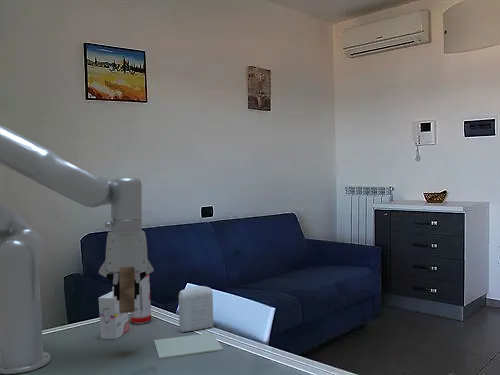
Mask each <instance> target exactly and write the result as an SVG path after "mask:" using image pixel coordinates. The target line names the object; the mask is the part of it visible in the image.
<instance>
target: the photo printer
mask: <svg viewBox="0 0 500 375" xmlns="http://www.w3.org/2000/svg"><path fill="white" fill-rule="evenodd" d="M213 298H214V297H213V290H212V288H211V287H208V286H205V285H195V286H194V285H193V286H190V287H186V288H184V289H182V290H180V291H179V293H178V316H179V317H178V321H179V332H181V333H185V332H191V331H199V330H203V328H205V329H209V328H208V327H212V328H213V327H214V303H213Z"/></svg>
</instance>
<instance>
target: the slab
mask: <svg viewBox="0 0 500 375" xmlns="http://www.w3.org/2000/svg"><path fill="white" fill-rule="evenodd" d="M118 280H119V284H120V300H119V310H120V313H128V314H129V313H130V312H134V267H130V268H120V273H119V277H118Z"/></svg>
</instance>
